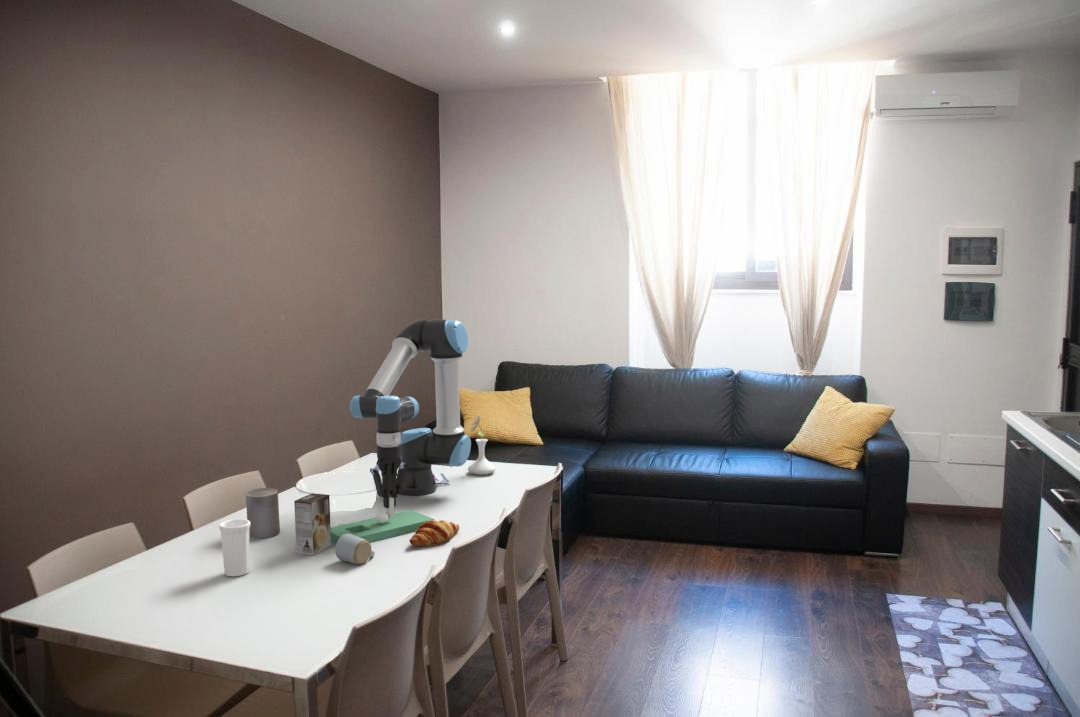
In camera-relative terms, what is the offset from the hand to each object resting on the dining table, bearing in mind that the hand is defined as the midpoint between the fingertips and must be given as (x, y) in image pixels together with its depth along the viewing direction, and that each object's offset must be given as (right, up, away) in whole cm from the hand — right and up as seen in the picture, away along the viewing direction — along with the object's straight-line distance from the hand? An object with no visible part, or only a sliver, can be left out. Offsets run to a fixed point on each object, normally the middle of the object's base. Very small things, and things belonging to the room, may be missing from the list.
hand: (389, 517), depth 274 cm
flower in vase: (+24, +4, +73) cm, 77 cm away
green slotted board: (-3, -4, -2) cm, 5 cm away
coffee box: (-19, -6, -19) cm, 28 cm away
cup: (-35, -9, -39) cm, 53 cm away
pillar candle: (-39, -5, -5) cm, 40 cm away
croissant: (+16, -6, -10) cm, 20 cm away
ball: (-2, 0, -2) cm, 3 cm away
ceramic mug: (-5, -8, -28) cm, 29 cm away
